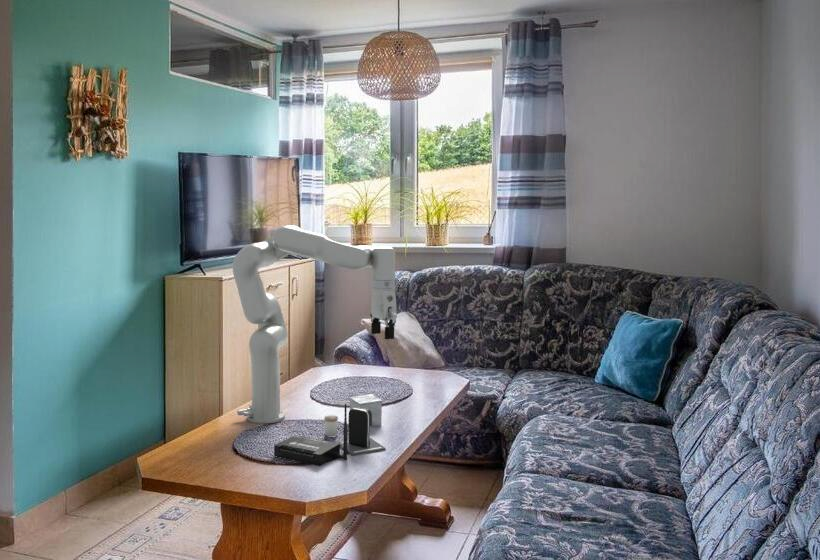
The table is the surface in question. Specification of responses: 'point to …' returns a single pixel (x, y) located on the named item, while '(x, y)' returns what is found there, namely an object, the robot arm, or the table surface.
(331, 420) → the white cylinder
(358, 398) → the wall box
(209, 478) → the table surface
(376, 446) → the mat
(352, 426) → the battery charger
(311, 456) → the black router
